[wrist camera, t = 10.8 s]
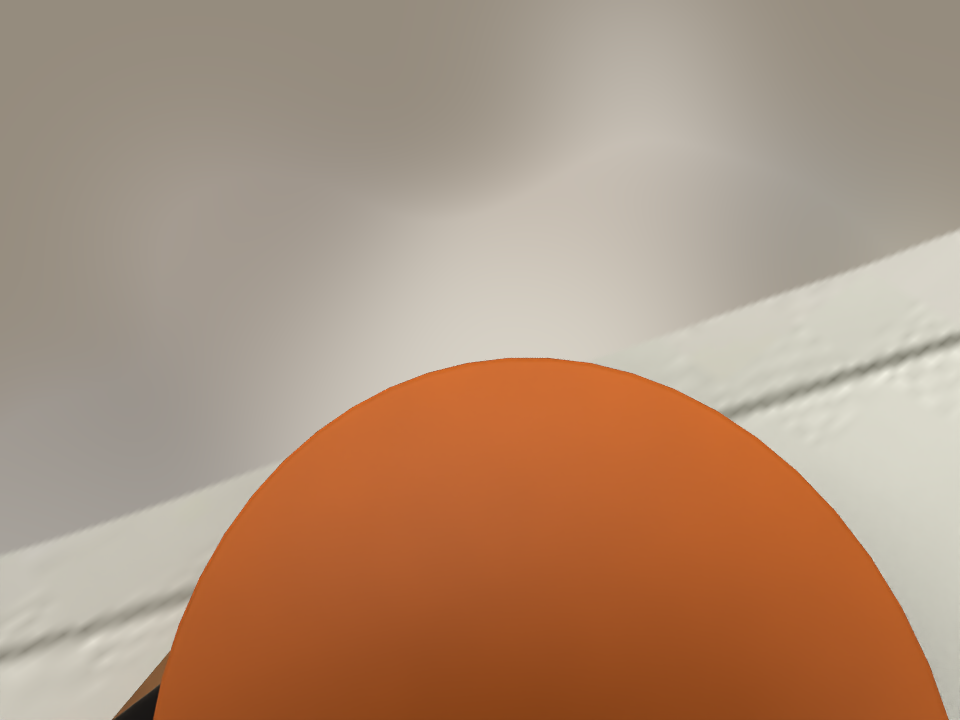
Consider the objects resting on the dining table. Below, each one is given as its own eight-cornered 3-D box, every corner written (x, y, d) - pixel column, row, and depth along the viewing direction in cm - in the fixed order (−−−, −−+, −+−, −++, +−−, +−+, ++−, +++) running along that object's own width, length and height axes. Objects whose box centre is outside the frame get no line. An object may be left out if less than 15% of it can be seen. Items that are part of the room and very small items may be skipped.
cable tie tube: (656, 622, 14) (1212, 940, 3) (504, 730, 14) (351, 1737, 2) (553, 468, 16) (611, 246, 4) (414, 559, 15) (49, 585, 4)
